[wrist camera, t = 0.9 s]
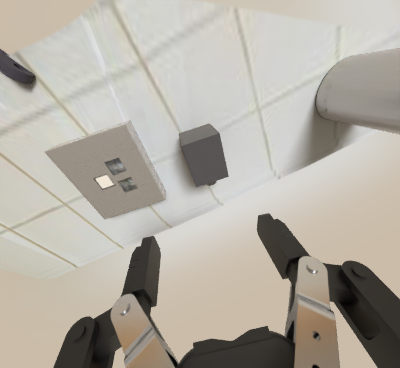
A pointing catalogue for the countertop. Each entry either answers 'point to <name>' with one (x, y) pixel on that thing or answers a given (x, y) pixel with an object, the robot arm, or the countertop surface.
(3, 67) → the bracket
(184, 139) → the plug
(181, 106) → the countertop surface
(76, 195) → the countertop surface
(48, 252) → the countertop surface
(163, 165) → the countertop surface
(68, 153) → the socket plate
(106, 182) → the earth shutter
